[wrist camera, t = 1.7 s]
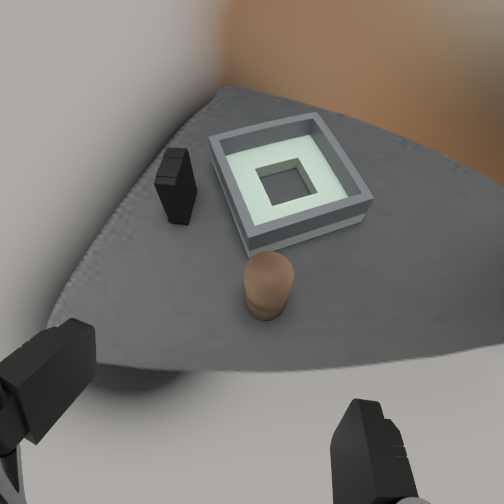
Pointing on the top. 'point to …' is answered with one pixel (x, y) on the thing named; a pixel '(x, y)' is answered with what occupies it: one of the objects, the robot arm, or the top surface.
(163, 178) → the ink cartridge
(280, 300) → the peg
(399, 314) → the top surface
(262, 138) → the socket box
